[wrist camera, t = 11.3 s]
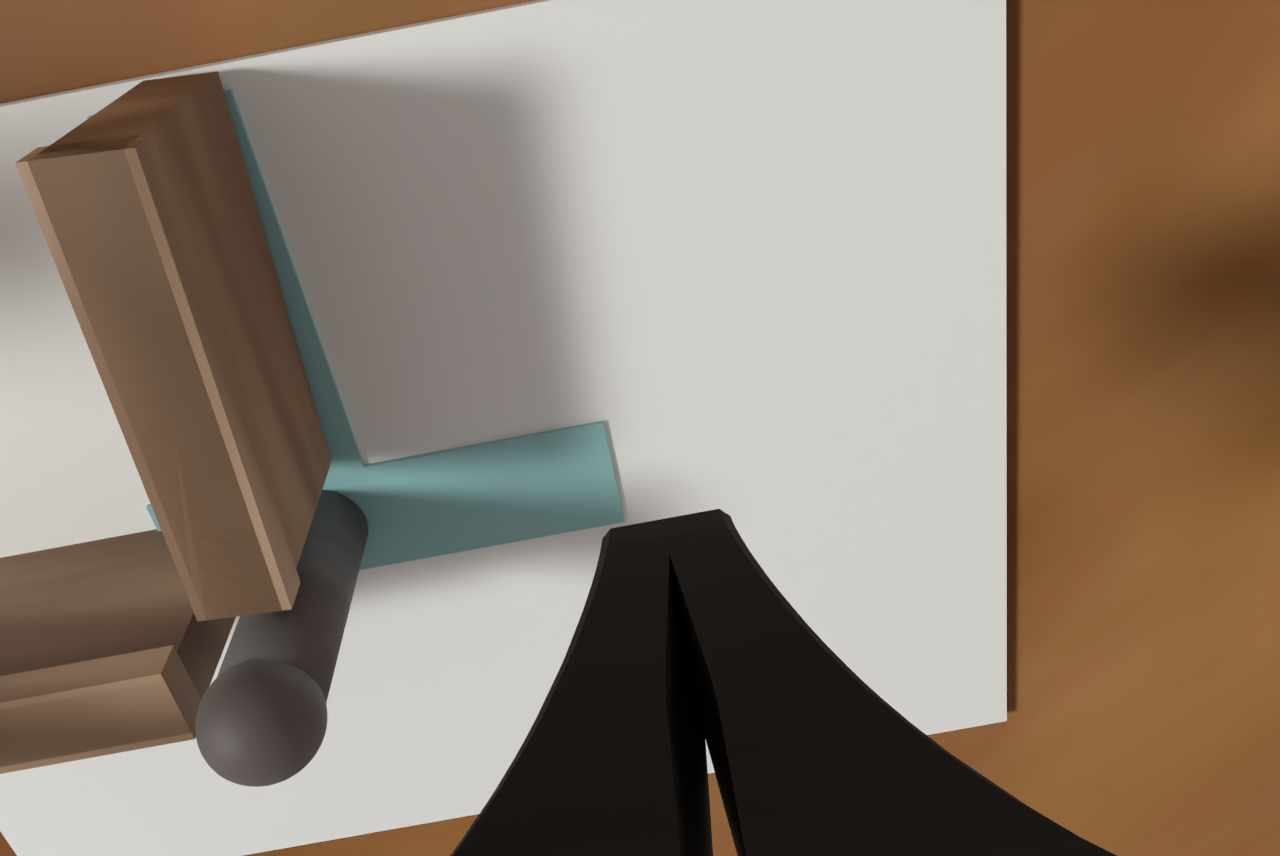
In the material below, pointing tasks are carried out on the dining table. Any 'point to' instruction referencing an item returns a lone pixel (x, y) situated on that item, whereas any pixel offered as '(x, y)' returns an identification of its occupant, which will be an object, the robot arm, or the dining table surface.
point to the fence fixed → (170, 655)
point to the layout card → (572, 369)
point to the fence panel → (189, 334)
